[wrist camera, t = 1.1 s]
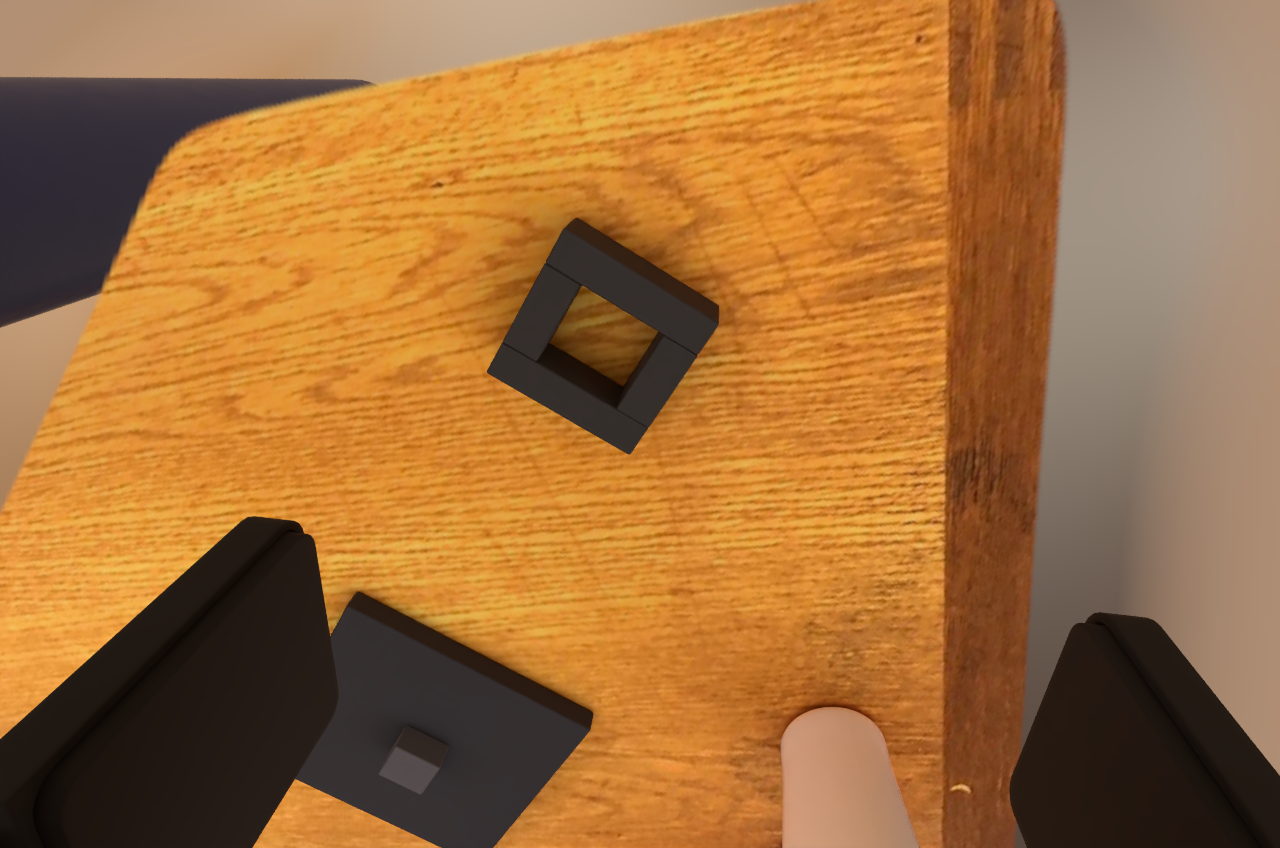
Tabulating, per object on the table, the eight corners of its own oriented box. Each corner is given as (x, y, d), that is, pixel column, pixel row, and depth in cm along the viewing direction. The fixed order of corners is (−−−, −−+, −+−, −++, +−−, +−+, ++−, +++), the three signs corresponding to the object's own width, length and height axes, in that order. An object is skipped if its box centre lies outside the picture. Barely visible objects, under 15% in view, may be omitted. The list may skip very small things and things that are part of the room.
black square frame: (502, 352, 31) (485, 373, 29) (575, 216, 28) (563, 227, 26) (635, 430, 32) (629, 456, 30) (719, 305, 29) (719, 324, 27)
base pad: (274, 747, 43) (247, 787, 40) (357, 590, 37) (332, 626, 35) (484, 846, 45) (471, 890, 42) (594, 712, 39) (585, 754, 37)
